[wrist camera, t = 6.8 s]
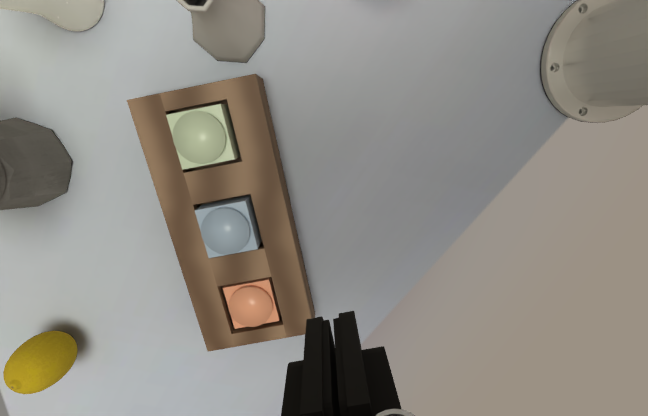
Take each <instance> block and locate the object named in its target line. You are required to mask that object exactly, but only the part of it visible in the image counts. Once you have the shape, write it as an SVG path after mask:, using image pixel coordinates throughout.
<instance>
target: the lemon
mask: <svg viewBox="0 0 648 416" xmlns="http://www.w3.org/2000/svg"><path fill="white" fill-rule="evenodd" d="M76 357H77V344H76V342H75V340H74V339H73V337H71V336H70V335H69V334H67V333H65V332H61V331H49V332H44V333H41V334H39V335H36V336H34V337H32V338H30V339H29V340H27V341H26V342H25V343H23V344H22V345H21V346H20V347H19V348H18V349H17V350H16V351H15V352H14V353H13V354H12V355H11V357H10V358H9V360H8V361H7V363H6V365H5V368H4V381H5V383H6V385H7V386H8V387H9V388H10V389H11V390H13V391H14V392H17V393H21V394H32V393H36V392H40V391H42V390H44V389H46V388H48V387H50V386H51V385H53V384H55V383H56V382H57V381H59V380H60V379H61V378H62V377H63V376H64V375H65V374H66V373H67V372H68V371H69V370H70V368H71V367H72V365H73V363H74V361H75V359H76Z"/></svg>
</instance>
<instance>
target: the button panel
mask: <svg viewBox="0 0 648 416" xmlns="http://www.w3.org/2000/svg"><path fill="white" fill-rule="evenodd" d="M127 102H128V105H129V108H130V112H131V115H132V118H133V121H134V124H135V127H136V130H137V133H138V136H139V139H140V143H141V146H142V149H143V152H144V155H145V158H146V161H147V164H148V167H149V170H150V174H151V177H152V180H153V183H154V186H155V189H156V192H157V195H158V198H159V201H160V205H161V208H162V211H163V214H164V217H165V220H166V223H167V226H168V229H169V232H170V236H171V239H172V242H173V245H174V248H175V251H176V254H177V257H178V260H179V264H180V267H181V270H182V273H183V276H184V279H185V282H186V285H187V288H188V291H189V295H190V298H191V301H192V304H193V307H194V310H195V313H196V316H197V319H198V322H199V326H200V329H201V332H202V335H203V338H204V341H205V344H206V347H207V350H208V351H213V350H219V349H225V348H230V347H236V346H241V345H247V344H253V343H258V342H264V341H270V340H275V339H281V338H286V337H292V336H298V335H303V334H305V333H306V320H307V319H311V318H315V311H314V306H313V302H312V298H311V293H310V289H309V284H308V280H307V275H306V271H305V266H304V262H303V257H302V253H301V248H300V244H299V239H298V235H297V230H296V226H295V221H294V217H293V213H292V208H291V204H290V199H289V195H288V190H287V186H286V181H285V177H284V172H283V168H282V163H281V159H280V154H279V150H278V145H277V141H276V136H275V132H274V128H273V123H272V119H271V114H270V110H269V105H268V101H267V96H266V92H265V87H264V83H263V79H262V78H261V77H259V76H258V75H257V74H252V75H248V76H243V77H238V78H233V79H228V80H223V81H218V82H213V83H208V84H204V85H199V86H194V87H189V88H184V89H179V90H174V91H169V92H164V93H159V94H155V95H150V96H145V97H140V98H135V99H130V100H127ZM218 104H225V105H228V108H229V112H230V116H231V120H232V124H233V128H234V132H235V136H236V140H237V144H238V148H239V152H240V156H241V157H239V158H237V159H234V160H229V161H224V162H219V163H214V164H209V165H204V166H199V167H194V168H189V169H183V170H182V167H181V164H180V160H179V157H178V153H177V150H176V147H175V145H174V142H173V137H172V133H171V130H170V127H169V123H168V120H167V117H166V115H168V114H173V113H178V112H183V111H188V110H193V109H198V108H203V107H208V106H213V105H218ZM249 195H251V199H252V203H253V207H254V211H255V215H256V219H257V223H258V227H259V231H260V235H261V239H262V241H261V243H260V246H259V248H258V249H256V250H250V251H245V252H240V253H234V254H229V255H224V256H218V257H213V258H209V257H208V254H207V251H206V247H205V244H204V241H203V239H202V235H201V231H200V227H199V224H198V221H197V217H196V214H195V210H196V209H197V208H199V207H200V206H201V205H203V204H207V203H212V202H217V201H223V200H228V199H233V198H238V197H243V196H249ZM267 277H272V281H273V285H274V289H275V293H276V297H277V301H278V305H279V309H280V313H281V315H280V320H279V321H276V322H270V323H265V324H262V325H259V326H256V327H242V328H237V329H235V328H234V325H233V321H232V318H231V315H230V312H229V308H228V304H227V301H226V298H225V294H224V291H223V287H224V285H229V284H234V283H240V282H245V281H251V280H256V279H261V278H267Z"/></svg>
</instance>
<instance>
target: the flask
mask: <svg viewBox="0 0 648 416" xmlns="http://www.w3.org/2000/svg"><path fill="white" fill-rule="evenodd" d="M176 1H178V2H179V3H180V4H181V5H182V6H183V7H184V8H186V9H187V10H188V11H190V12H191V16H192V24H193V40H194V41H195V42H196V43H198V44H199V45H200V46H201V47H202V48H203V49H204V50H206V51H207V52H208V53H209V54H210V55H211V56H213V57H214V58H215V59H216V60H217V61H230V62H244V63H246V62H247V61H248V60H249V58H250V57H251V56H252V54H253V53H254V52H255V50H256V49H257V48H258V46H259V45H260V44H261V42H262V41H263V40H264V24H265V6H264V5H263V4H262V3H261V2H260V1H259V0H176Z"/></svg>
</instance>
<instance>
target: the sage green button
mask: <svg viewBox="0 0 648 416" xmlns="http://www.w3.org/2000/svg"><path fill="white" fill-rule="evenodd" d="M166 117H167V120H168V123H169V127H170V130H171V133H172V137H173V142H174V145H175V147H176V150H177V153H178V157H179V160H180V164H181V167H182V170H183V169H189V168H194V167H199V166H204V165H209V164H214V163H219V162H224V161H229V160H234V159H237V158H239V157H241V156H240V152H239V148H238V144H237V140H236V136H235V132H234V128H233V124H232V120H231V116H230V112H229V108H228V105H225V104H218V105H213V106H208V107H203V108H198V109H193V110H188V111H183V112H178V113H173V114H168V115H166Z"/></svg>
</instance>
